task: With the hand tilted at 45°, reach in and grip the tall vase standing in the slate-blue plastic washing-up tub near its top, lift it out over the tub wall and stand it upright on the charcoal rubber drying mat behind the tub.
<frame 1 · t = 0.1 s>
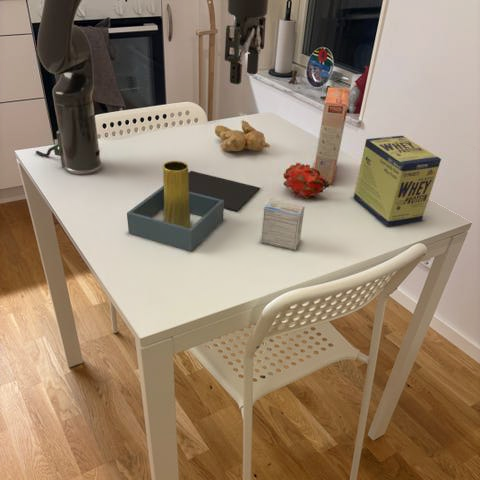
hand: (243, 78, 106), 29 cm above the table, tool pointing down, fingers open, 8 cm apart
cracker box: (324, 174, 142), on the table
medicine box: (280, 243, 113), on the table
vase: (177, 227, 116), resting in tub
protein box: (386, 210, 128), on the table
drying mat: (212, 191, 130), on the table
tub: (177, 226, 116), on the table
dragon fruit: (303, 195, 132), on the table
ginger root: (241, 149, 153), on the table
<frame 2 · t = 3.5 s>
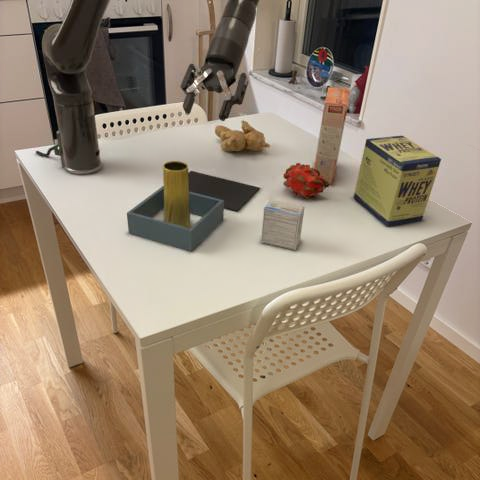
hand: (203, 115, 111), 21 cm above the table, tool tilted 45°, fingers open, 8 cm apart
nothing on the table moved.
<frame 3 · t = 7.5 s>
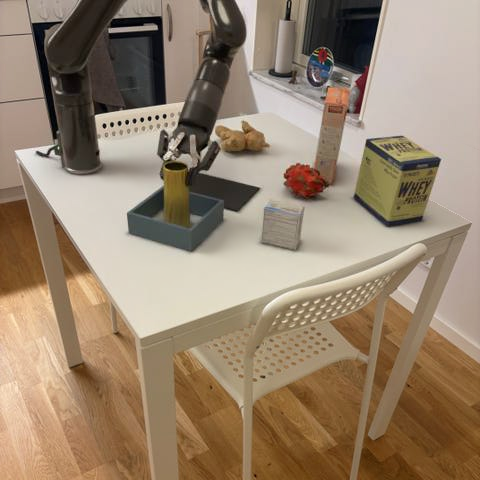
hand: (175, 182, 109), 11 cm above the table, tool tilted 45°, fingers closed on vase, 5 cm apart
vase: (177, 227, 116), resting in tub, touching gripper
everything else where it was.
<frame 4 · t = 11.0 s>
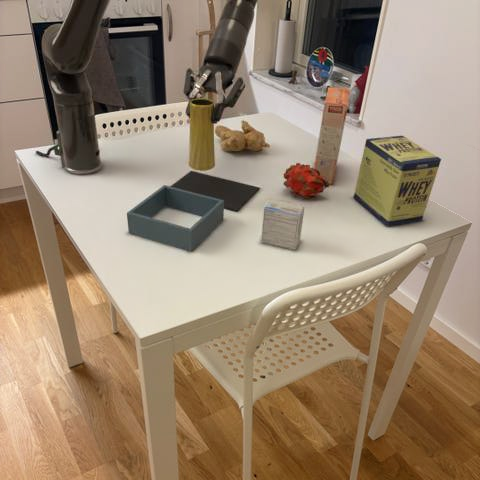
hand: (201, 119, 112), 20 cm above the table, tool tilted 45°, fingers closed on vase, 5 cm apart
vase: (201, 166, 120), point 9 cm above the table, touching gripper
everything else where it was.
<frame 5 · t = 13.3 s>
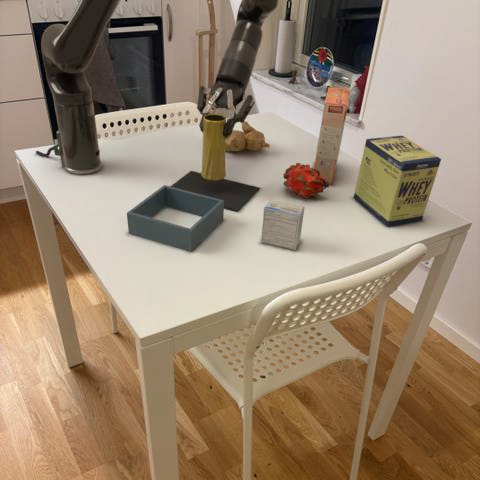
hand: (213, 133, 121), 15 cm above the table, tool tilted 45°, fingers closed on vase, 5 cm apart
vase: (213, 176, 128), point 4 cm above the table, touching gripper
everything else where it was.
when the fingers open (11 cm above the table, at t = 14.8 s): vase stays where it is, resting on drying mat.
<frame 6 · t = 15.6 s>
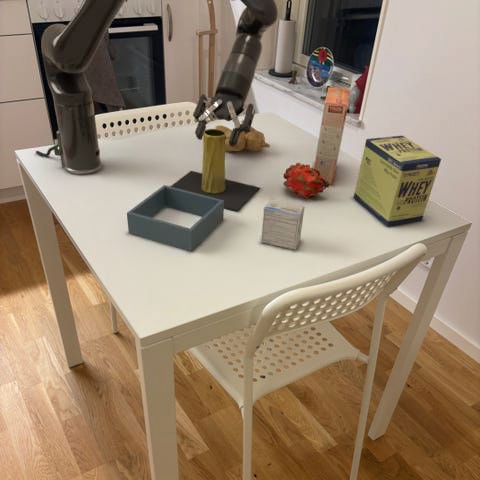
hand: (214, 141, 123), 13 cm above the table, tool tilted 45°, fingers open, 8 cm apart
vase: (213, 189, 130), resting on drying mat
everything else where it was.
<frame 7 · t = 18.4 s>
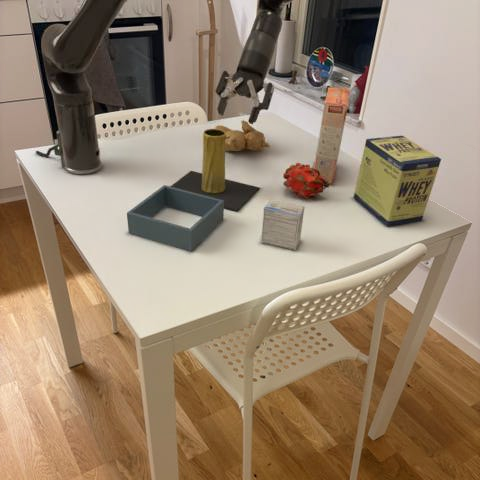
hand: (235, 118, 131), 14 cm above the table, tool tilted 35°, fingers open, 8 cm apart
nothing on the table moved.
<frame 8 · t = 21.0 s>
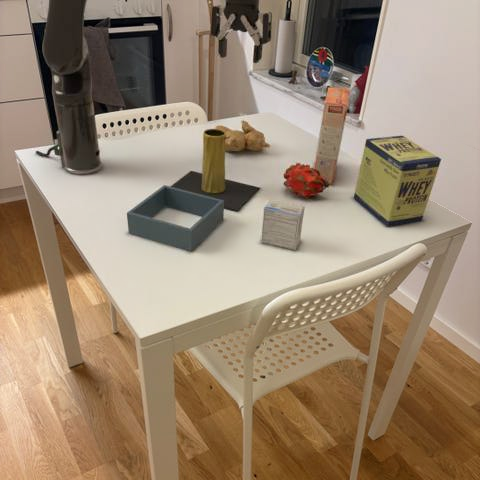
hand: (239, 59, 122), 28 cm above the table, tool pointing down, fingers open, 8 cm apart
nothing on the table moved.
at the end: vase inside the target area on the drying mat (0.3 cm from its centre), point 0.3 cm above the drying mat's base; vase tilted 0°; the gripper is holding nothing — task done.
